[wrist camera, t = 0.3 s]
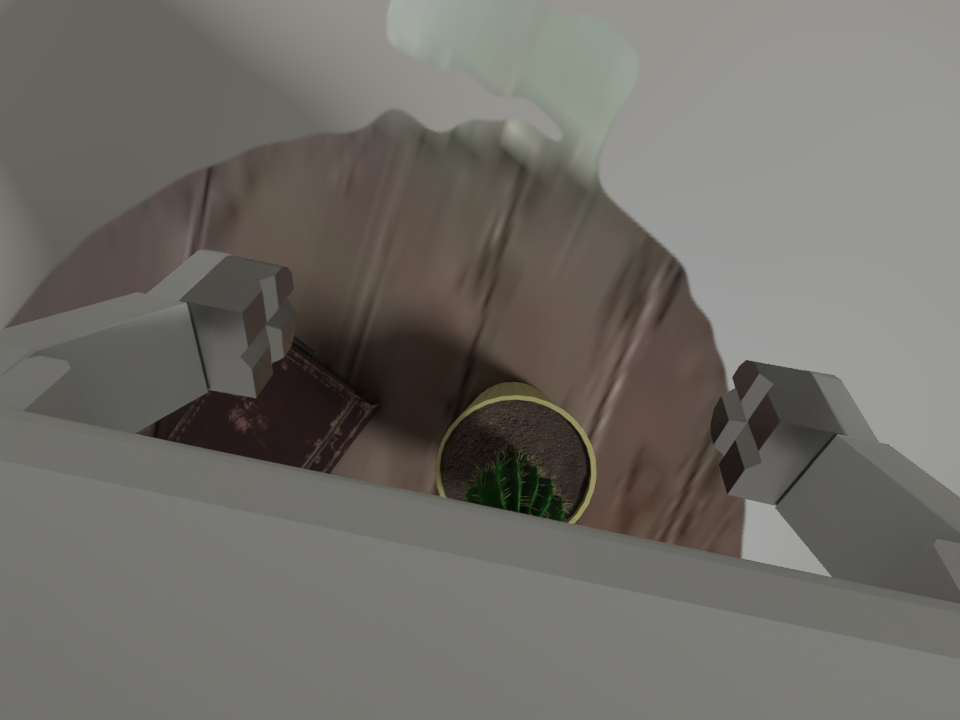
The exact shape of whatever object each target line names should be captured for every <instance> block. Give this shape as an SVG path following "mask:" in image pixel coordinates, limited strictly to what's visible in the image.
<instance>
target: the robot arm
mask: <svg viewBox="0 0 960 720" xmlns="http://www.w3.org/2000/svg"><path fill="white" fill-rule="evenodd" d="M293 289H294V286H293V278H292V272H291V271H290V270H289V269H288V267H285V266H281V265H276V264H272V263H267V262H263V261H258V260H254V259H249V258H245V257H240V256H236V255H231V254H227V253H222V252H217V251H212V250H198V251H197V252H196V253H195V254H193V255H192V256H191V257H190V258H189V259H188V260H186V261H185V262H184V263H183V264H182V265H180V266H179V267H178V268H177V269H176V270H174V271H173V272H172V273H171V274H170V275H168V276H167V277H166V278H165V279H164V280H162V281H161V282H160V283H159V284H158V285H157V286H155V287H154V288H153V289H152V290H151V291H149V292H148V293H147V294H142V293H133V294H130V295H126V296H122V297H119V298H115V299H111V300H108V301H104V302H101V303H97V304H93V305H90V306H86V307H82V308H79V309H75V310H72V311H68V312H64V313H61V314H57V315H53V316H50V317H46V318H43V319H39V320H35V321H32V322H28V323H24V324H21V325H17V326H14V327H10V328H6V329H3V330H0V720H960V497H959V496H957V495H956V494H955V493H953V492H952V491H951V490H949V489H948V488H947V487H945V486H944V485H942V484H941V483H940V482H938V481H937V480H936V479H934V478H933V477H931V476H930V475H929V474H928V473H926V472H925V471H923V470H922V469H921V468H919V467H918V466H917V465H915V464H914V463H913V462H911V461H910V460H909V459H907V458H906V457H905V456H903V455H902V454H901V453H899V452H898V451H897V450H895V449H894V448H893V447H891V446H890V445H888V444H884V443H879V442H878V440H877V438H876V437H875V435H874V433H873V432H872V430H871V428H870V427H869V425H868V423H867V422H866V420H865V419H864V417H863V415H862V413H861V412H860V410H859V408H858V407H857V405H856V403H855V402H854V400H853V399H852V397H851V395H850V393H849V392H848V390H847V389H846V387H845V386H844V384H843V382H842V381H841V380H840V379H839V378H837V377H836V376H834V375H830V374H823V373H818V372H811V371H806V370H798V369H793V368H787V367H781V366H776V365H770V364H765V363H759V362H754V361H749V360H746V361H745V362H744V363H742V364H741V365H740V366H739V367H738V369H737V371H736V372H735V374H734V375H733V381H734V384H735V389H733V390H731V391H729V392H727V393H725V394H723V395H721V397H720V399H719V401H718V403H717V404H716V406H715V408H714V411H713V415H712V420H711V437H712V441H713V445H714V446H715V447H716V448H717V449H718V450H719V451H720V452H721V453H722V454H723V455H724V457H723V459H722V460H721V462H720V463H719V467H720V470H721V474H722V477H723V481H724V484H725V488H726V491H727V495H732V496H736V497H740V498H745V499H749V500H754V501H758V502H762V503H766V504H771V505H776V509H777V510H778V512H779V513H780V514H781V515H782V516H783V518H784V519H785V520H786V521H787V522H788V524H789V525H790V526H791V527H792V528H793V530H794V531H795V532H796V533H797V535H798V536H799V537H800V538H801V539H802V541H803V542H804V543H805V544H806V546H807V547H808V548H809V549H810V550H811V552H812V553H813V554H814V555H815V556H816V558H817V559H818V560H819V561H820V563H821V564H822V565H823V566H824V567H825V569H826V570H827V571H828V572H829V574H830V575H831V576H832V577H828V576H823V575H818V574H813V573H809V572H804V571H799V570H794V569H789V568H784V567H779V566H775V565H770V564H765V563H760V562H755V561H750V560H745V559H741V558H736V557H731V556H726V555H721V554H716V553H711V552H707V551H702V550H697V549H692V548H687V547H682V546H677V545H673V544H668V543H663V542H658V541H653V540H648V539H643V538H639V537H634V536H629V535H624V534H619V533H614V532H609V531H605V530H600V529H595V528H590V527H585V526H580V525H576V524H571V523H566V522H561V521H556V520H551V519H547V518H542V517H537V516H532V515H527V514H522V513H517V512H513V511H508V510H503V509H498V508H493V507H488V506H484V505H479V504H474V503H469V502H464V501H459V500H455V499H450V498H445V497H440V496H435V495H430V494H426V493H421V492H416V491H411V490H406V489H401V488H396V487H391V486H386V485H381V484H377V483H372V482H367V481H362V480H357V479H352V478H347V477H342V476H337V475H332V474H327V473H322V472H318V471H313V470H308V469H303V468H298V467H293V466H288V465H283V464H278V463H273V462H268V461H264V460H259V459H254V458H249V457H244V456H239V455H234V454H229V453H224V452H220V451H215V450H210V449H205V448H201V447H196V446H191V445H186V444H181V443H177V442H172V441H167V440H162V439H158V438H153V437H148V436H143V435H138V434H135V433H137V432H138V431H140V430H142V429H144V428H145V427H147V426H149V425H151V424H153V423H154V422H156V421H158V420H160V419H161V418H163V417H165V416H167V415H168V414H170V413H172V412H174V411H176V410H177V409H179V408H181V407H183V406H184V405H186V404H188V403H190V402H192V401H193V400H195V399H197V398H199V397H200V396H202V395H204V394H206V393H207V392H208V390H212V391H218V392H224V393H229V394H235V395H241V396H246V397H252V398H257V397H258V395H259V394H260V392H261V391H262V389H263V388H264V386H265V385H266V383H267V382H268V381H269V379H270V378H271V376H272V375H273V367H272V363H274V362H276V361H278V360H280V359H282V358H284V357H285V355H286V354H287V352H288V351H289V349H290V348H291V345H292V342H293V339H294V336H295V331H296V309H295V308H294V307H293V305H292V304H291V303H290V302H289V300H288V299H287V297H288V296H289V294H290V293H291V292H292V291H293Z"/></svg>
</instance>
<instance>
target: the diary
mask: <svg viewBox="0 0 960 720" xmlns="http://www.w3.org/2000/svg"><path fill="white" fill-rule="evenodd" d="M314 352H315V351H314V350H312V349H311V348H310V347H308V346H307V345H306V344H304V343H303V342H302V341H300V340H299V339H298V338H296V337H295V336H294V339H293V342H292V345H291V348H290V349H289V351H288V352H287V354H286V355H285V357H284V358H282V359H280V360H278V361H276V362H274V363H272V367H273V375H272V376H271V378H270V379H269V381H268V382H267V383H266V385H265V386H264V388H263V389H262V391H261V392H260V394H259V395H258V397H257V398H252V397H246V396H241V395H235V394H229V393H224V392H218V391H212V390H208V392H207V393H206V394H204V395H202V396H200V397H199V398H197V399H195V400H194V401H193V403H192V404H191V406H190V407H189V408H188V410H187V411H186V413H185V414H184V416H183V417H182V418H181V420H180V421H179V423H178V424H177V426H176V427H175V428H174V430H173V431H172V433H171V434H170V435H169V437H168V438H167V441H172V442H177V443H181V444H186V445H191V446H196V447H201V448H205V449H210V450H215V451H220V452H224V453H229V454H234V455H239V456H244V457H249V458H254V459H259V460H264V461H268V462H273V463H278V464H283V465H288V466H293V467H298V468H303V469H308V470H313V471H318V472H322V473H327V474H330V473H331V471H332V470H333V469H334V467H335V466H336V464H337V463H338V462H339V460H340V459H341V457H342V456H343V455H344V453H345V452H346V450H347V449H348V448H349V446H350V445H351V444H352V442H353V441H354V440H355V439H356V437H357V436H358V435H359V434H360V432H361V431H362V430H363V429H364V427H365V426H366V425H367V424H368V422H369V421H370V420H371V419H372V417H373V416H374V415H375V414H376V412H377V411H378V409H379V405H380V401H381V399H380V398H378V397H377V399H376V400H375V401H374V403H373V404H372V405H370V404H368V403H367V402H366V401H365V400H364V396H363V394H364V392H365V391H366V390H367V389H366V390H365V391H364V392H363V394H361V395H360V396H357V395H356V394H355V392H356V390H355V389H354V388H352V387H351V386H350V385H348V384H347V383H345V382H344V381H343V380H341V379H340V378H339V377H337V376H336V375H335V374H333V373H332V372H330V371H329V370H328V369H326V368H325V367H324V366H322V365H321V364H320V363H318V362H317V361H315V360H314V359H313V358H312V356H313V354H314Z"/></svg>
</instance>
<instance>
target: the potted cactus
mask: <svg viewBox="0 0 960 720" xmlns="http://www.w3.org/2000/svg"><path fill="white" fill-rule="evenodd" d="M436 480H437V487H438V490H439V493H440V496H441V497H445V498H450V499H455V500H459V501H464V502H469V503H474V504H479V505H484V506H488V507H493V508H498V509H503V510H508V511H513V512H517V513H522V514H527V515H532V516H537V517H542V518H547V519H551V520H556V521H561V522H566V523H571V524H574V523H575V522H576V521H577V520H578V519H579V517H580V516H581V515H582V513H583V512H584V510H585V509H586V507H587V506H588V504H589V502H590V499H591V496H592V494H593V491H594V487H595V480H596V460H595V456H594V453H593V448H592V445H591V443H590V441H589V439H588V437H587V435H586V433H585V432H584V430H583V429H582V428H581V427H580V425H579V424H578V423H577V421H576V420H575V419H574V418H573V417H571V416H570V415H569V414H568V413H567V412H565V411H564V410H563V409H561V408H560V407H559V406H557V405H556V404H555V403H554V402H553V401H552V400H551V399H549V398H548V397H547V396H546V395H545V394H544V393H542V392H541V391H540V390H539V389H536V388H534V387H533V386H531V385H528V384H525V383H520V382H503V383H500V384H496V385H494V386H492V387H490V388H487V389H486V390H485V391H484V392H483V393H481V394H480V395H479V396H478V397H477V398H476V399H475V400H474V401H473V402H472V403H471V404H470V405H469V407H468V408H467V409H466V410H465V411H464V412H463V413H462V414H461V415H460V416H459V417H458V419H457V420H456V421H455V422H454V423H453V424H452V425H451V427H450V428H449V429H448V431H447V433H446V435H445V436H444V438H443V440H442V442H441V445H440V448H439V451H438V454H437V461H436Z"/></svg>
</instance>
